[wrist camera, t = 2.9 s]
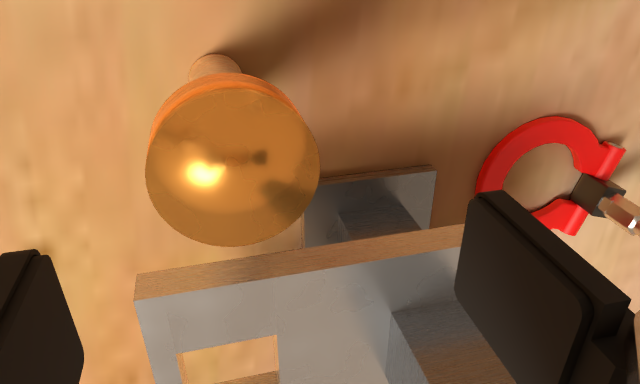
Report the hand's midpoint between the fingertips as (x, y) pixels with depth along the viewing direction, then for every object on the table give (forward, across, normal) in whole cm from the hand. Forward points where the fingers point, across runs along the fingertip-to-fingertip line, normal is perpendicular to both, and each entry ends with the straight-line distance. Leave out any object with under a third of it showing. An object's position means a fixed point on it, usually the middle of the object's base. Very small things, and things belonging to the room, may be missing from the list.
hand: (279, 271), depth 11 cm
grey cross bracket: (+15, -3, +10) cm, 18 cm away
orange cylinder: (+14, +1, 0) cm, 14 cm away
